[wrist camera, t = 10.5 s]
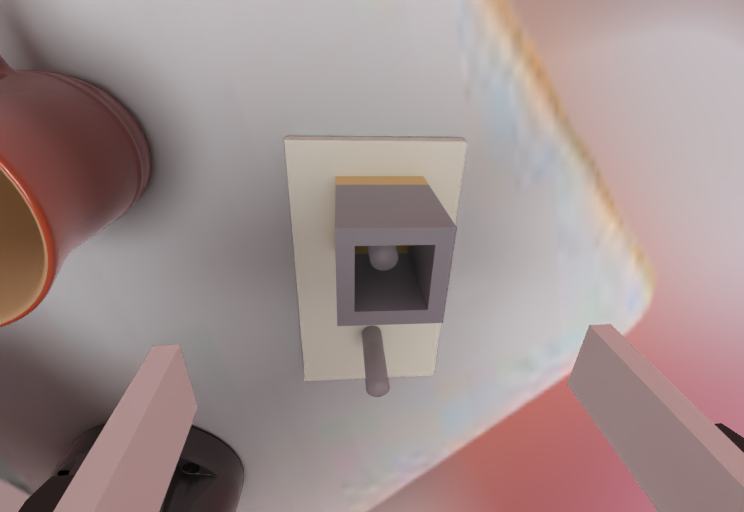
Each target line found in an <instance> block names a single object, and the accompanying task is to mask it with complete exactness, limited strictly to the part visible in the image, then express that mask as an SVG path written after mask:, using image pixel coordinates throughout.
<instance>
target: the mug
mask: <svg viewBox="0 0 744 512" xmlns="http://www.w3.org/2000/svg"><path fill="white" fill-rule="evenodd" d="M150 167H151V161H150V153H149V148H148V145H147V142H146V139H145V137H144V135H143V133H142V131H141V129H140V127H139V126H138V124H137V123H136V121H135V120H134V118H133V117H132V116H131V115H130V114H129V112H128V111H127V110H126V109H125V108H124V107H123V106H122V105H121V104H120V103H119V102H117V101H116V100H115V99H114V98H113V97H111V96H110V95H109V94H107V93H105V92H104V91H102V90H101V89H99V88H97V87H95V86H93V85H91V84H89V83H87V82H85V81H82V80H80V79H77V78H74V77H71V76H66V75H63V74H60V73H55V72H44V71H37V70H14V69H12V68H11V67H10V66H9V65H8V64H7V63H6V62H5V61H4V59H3V58H2V57H1V55H0V327H2V326H5V325H8V324H11V323H13V322H15V321H17V320H19V319H21V318H23V317H24V316H26V315H27V314H29V313H30V312H31V311H33V310H34V309H35V308H36V307H37V306H38V305H39V304H40V303H41V302H42V301H43V300H44V298H45V297H46V295H47V294H48V292H49V291H50V289H51V287H52V285H53V283H54V281H55V279H56V277H57V274H58V272H59V270H60V268H61V267H62V265H63V263H64V261H65V259H66V258H67V256H68V255H69V254H70V253H71V252H72V251H73V250H74V249H75V248H76V247H78V246H79V245H81V244H82V243H83V242H85V241H87V240H88V239H90V238H91V237H93V236H94V235H96V234H97V233H99V232H100V231H101V230H103V229H104V228H105V227H107V226H108V225H109V224H111V223H112V222H113V221H115V220H117V219H119V218H120V217H122V216H123V215H124V214H125V213H127V212H128V211H129V209H130V208H131V207H132V206H133V204H134V203H135V202H136V201H137V200H138V199H139V198H140V197H141V196H142V194H143V193H144V191H145V186H146V184H147V181H148V179H149V175H150Z"/></svg>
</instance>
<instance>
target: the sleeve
mask: <svg viewBox="0 0 744 512" xmlns="http://www.w3.org/2000/svg"><path fill="white" fill-rule="evenodd" d="M456 229H457V227H456V225H455V224H454V222H453V221H452V219H451V218H450V216H449V215H448V213H447V212H446V210H445V209H444V207H443V206H442V204H441V203H440V201H439V199H438V198H437V196H436V195H435V193H434V192H433V190H432V189H431V187H430V186H429V184H428V183H427V181H426V180H425V178H424V177H423V176H336V193H335V257H336V296H337V326H361V325H393V324H426V323H443V317H444V310H445V304H446V297H447V290H448V283H449V277H450V270H451V263H452V256H453V250H454V243H455V236H456ZM389 245H395V246H396V249H397V253H398V262H397V263H396V265H395V266H394V267H393V268H391V269H389V270H384V271H383V270H378V269H376V268H374V267H373V266H372V265H371V263H370V258H369V252H368V246H389Z"/></svg>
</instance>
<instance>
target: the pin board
mask: <svg viewBox="0 0 744 512" xmlns="http://www.w3.org/2000/svg"><path fill="white" fill-rule="evenodd" d="M284 144H285V155H286V167H287V178H288V190H289V202H290V213H291V225H292V236H293V248H294V259H295V271H296V283H297V294H298V306H299V317H300V329H301V340H302V352H303V364H304V375H305V381H317V380H340V379H364V378H365V379H366V390H367V393H368V394H369V395H371V396H375V397H379V396H383V395H385V394H386V393H387V392H388V391H389V388H390V387H389V380H388V377H411V376H434V369H435V362H436V355H437V348H438V342H439V335H440V328H441V323H426V324H393V325H361V326H337V296H336V257H335V193H336V176H423V177H424V178H425V180H426V181H427V183H428V184H429V186H430V187H431V189H432V190H433V192H434V193H435V195H436V196H437V198H438V199H439V201H440V203H441V204H442V206H443V207H444V209H445V210H446V212H447V213H448V215H449V216H450V218H451V219H452V221H453V222H454V224H455V225H456V218H457V211H458V204H459V197H460V190H461V183H462V176H463V169H464V163H465V156H466V149H467V141H466V140H465V139H463V138H430V137H325V136H286V138H285V139H284ZM368 252H369V258H370V263H371V265H372V266H373V267H374V268H376V269H378V270H383V271H384V270H389V269H391V268H393V267H394V266H395V265H396V263H397V262H398V253H397V249H396V246H395V245H389V246H368Z"/></svg>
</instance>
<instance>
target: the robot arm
mask: <svg viewBox="0 0 744 512" xmlns="http://www.w3.org/2000/svg"><path fill="white" fill-rule="evenodd" d="M567 385H568V386H569V387H570V389H571V390H572V392H573V393H574V395H575V396H576V397H577V399H578V400H579V401H580V403H581V404H582V406H583V407H584V408H585V410H586V411H587V413H588V414H589V416H590V417H591V418H592V420H593V421H594V423H595V424H596V425H597V427H598V428H599V429H600V431H601V432H602V434H603V435H604V436H605V438H606V439H607V441H608V442H609V443H610V445H611V446H612V448H613V449H614V450H615V452H616V453H617V455H618V456H619V457H620V459H621V460H622V462H623V463H624V464H625V466H626V467H627V469H628V470H629V471H630V473H631V474H632V476H633V477H634V478H635V480H636V481H637V483H638V484H639V485H640V487H641V488H642V490H643V491H644V492H645V494H646V495H647V496H648V498H649V499H650V501H651V502H652V503H653V505H654V506H655V508H656V509H657V510H658V512H744V438H743V437H741V436H740V435H738V434H737V433H735V432H734V431H732V430H731V429H729V428H728V427H726V426H724V425H723V424H721V423H720V424H713V423H712V422H711V421H710V420H709V419H708V418H707V417H706V416H705V415H704V414H703V413H702V412H701V411H700V410H699V409H698V408H697V407H696V406H695V405H694V404H693V403H692V402H691V401H689V399H688V398H687V397H685V396H684V395H683V394H682V393H681V392H680V391H679V390H678V389H677V388H676V387H675V386H674V385H673V384H672V383H671V382H670V381H669V380H668V379H667V378H666V377H665V376H664V375H663V374H662V373H661V372H660V371H659V370H658V369H656V368H655V367H654V366H653V365H652V364H651V363H650V362H649V361H648V360H647V359H646V358H645V357H644V356H643V355H642V354H641V353H640V352H639V351H638V350H637V349H636V348H635V347H634V346H633V345H632V344H631V343H630V342H629V341H628V340H627V339H626V338H624V337H623V336H622V335H621V334H620V333H619V332H618V331H617V330H616V329H615V328H614V327H613V326H612V325H611V324H605V325H589V328H588V330H587V333H586V336H585V338H584V341H583V344H582V346H581V349H580V352H579V354H578V357H577V359H576V362H575V365H574V367H573V370H572V373H571V375H570V378H569V381H568V383H567ZM197 409H198V406H197V403H196V399H195V396H194V392H193V389H192V385H191V382H190V378H189V375H188V371H187V368H186V364H185V361H184V357H183V354H182V350H181V347H180V345H160V346H153V347H152V348H151V350H150V352H149V353H148V355H147V357H146V358H145V360H144V362H143V363H142V365H141V367H140V368H139V370H138V372H137V373H136V375H135V377H134V378H133V380H132V382H131V383H130V385H129V387H128V388H127V390H126V392H125V393H124V395H123V397H122V398H121V400H120V402H119V403H118V405H117V406H116V408H115V410H114V411H113V413H112V415H111V416H110V418H109V420H108V421H107V423H106V424H105V425H102V426H99V427H96V428H94V429H92V430H90V431H88V432H86V433H84V434H83V435H81V436H80V437H79V438H77V439H76V440H75V441H74V442H73V443H72V444H71V446H70V447H69V449H68V450H67V452H66V453H65V455H64V456H63V458H62V459H61V461H60V462H59V464H58V465H57V467H56V468H55V470H54V472H53V474H52V476H51V478H49V479H48V480H47V481H46V482H45V483H44V484H43V485H42V486H41V487H40V488H39V489H38V490H37V491H36V492H35V493H34V494H33V495H32V496H30V497H29V498H28V499H27V500H26V501H25V503H24V504H23V506H22V507H21V509H20V510H19V512H236V509H237V506H238V504H239V499H240V495H241V490H242V486H243V481H244V472H243V468H242V465H241V463H240V461H239V459H238V458H237V456H236V455H235V454H234V452H233V451H232V450H231V449H230V448H229V447H227V446H226V445H225V444H224V443H222V442H221V441H219V440H218V439H216V438H215V437H213V436H211V435H209V434H207V433H205V432H202V431H200V430H197V429H195V428H192V427H191V425H192V422H193V419H194V417H195V414H196V411H197Z"/></svg>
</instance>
